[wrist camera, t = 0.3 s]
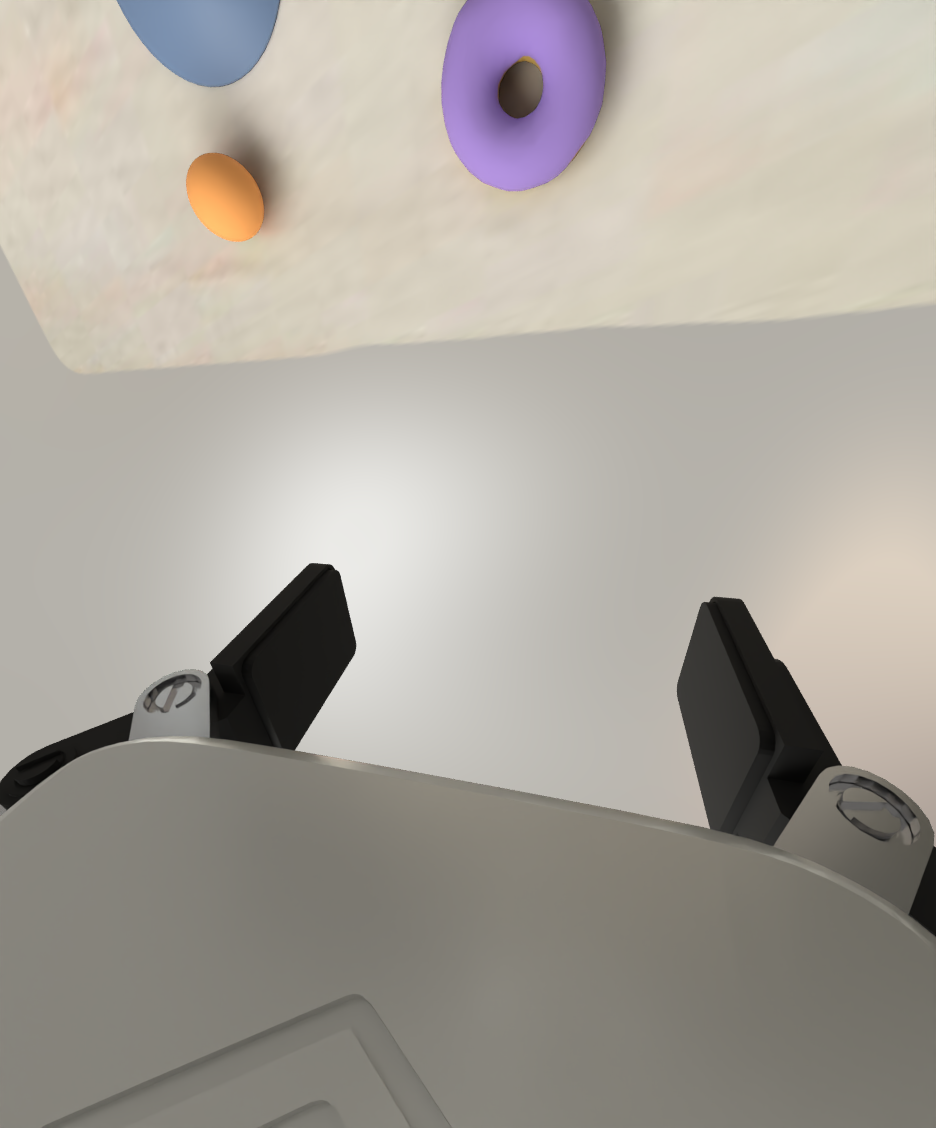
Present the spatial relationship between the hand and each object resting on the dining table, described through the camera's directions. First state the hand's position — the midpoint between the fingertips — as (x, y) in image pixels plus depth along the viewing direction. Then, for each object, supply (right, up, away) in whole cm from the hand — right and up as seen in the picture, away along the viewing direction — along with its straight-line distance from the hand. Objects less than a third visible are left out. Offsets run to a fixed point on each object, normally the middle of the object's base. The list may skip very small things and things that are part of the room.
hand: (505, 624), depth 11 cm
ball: (-19, +29, +20) cm, 40 cm away
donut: (+3, +32, +17) cm, 36 cm away
